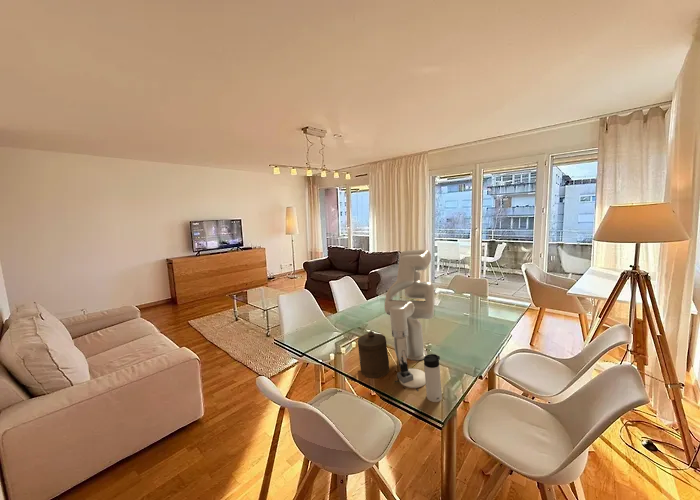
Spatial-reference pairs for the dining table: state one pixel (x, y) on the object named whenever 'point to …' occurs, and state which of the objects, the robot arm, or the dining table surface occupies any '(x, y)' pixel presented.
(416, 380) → the dial
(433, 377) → the travel mug
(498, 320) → the dining table surface
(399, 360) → the peg
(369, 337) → the wooden container
